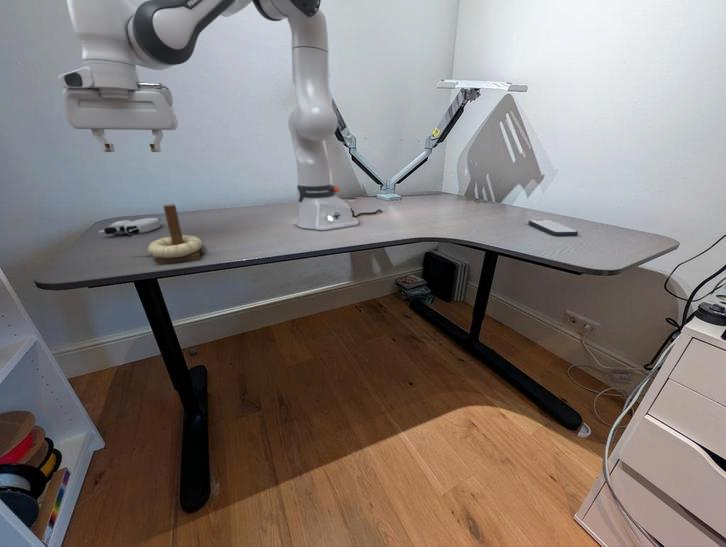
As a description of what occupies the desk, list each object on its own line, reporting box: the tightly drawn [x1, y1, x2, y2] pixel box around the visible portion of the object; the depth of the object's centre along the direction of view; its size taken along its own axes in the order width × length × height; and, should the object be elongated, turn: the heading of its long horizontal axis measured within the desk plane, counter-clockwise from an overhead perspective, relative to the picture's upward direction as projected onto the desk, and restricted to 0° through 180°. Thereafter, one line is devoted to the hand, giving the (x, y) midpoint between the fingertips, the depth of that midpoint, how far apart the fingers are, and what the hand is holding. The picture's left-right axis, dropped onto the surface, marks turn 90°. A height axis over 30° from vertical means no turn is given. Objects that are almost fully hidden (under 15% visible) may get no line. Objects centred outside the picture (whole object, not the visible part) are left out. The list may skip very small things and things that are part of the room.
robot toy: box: [98, 217, 165, 236], centre depth 101 cm, size 12×4×15 cm
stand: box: [157, 203, 202, 265], centre depth 80 cm, size 9×9×14 cm
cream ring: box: [147, 234, 203, 258], centre depth 81 cm, size 12×12×3 cm
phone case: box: [527, 219, 579, 237], centre depth 110 cm, size 9×2×16 cm
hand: (133, 152), depth 71 cm, fingers open, 8 cm apart
